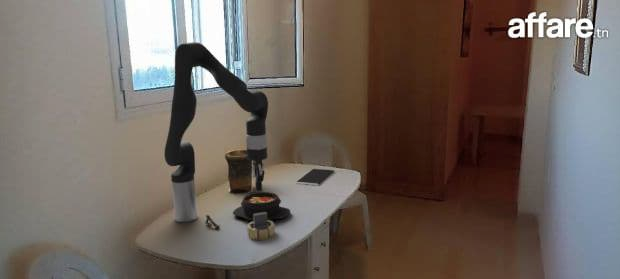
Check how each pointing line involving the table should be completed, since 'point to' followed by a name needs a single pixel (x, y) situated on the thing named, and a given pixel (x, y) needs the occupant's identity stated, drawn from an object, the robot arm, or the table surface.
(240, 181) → the vessel
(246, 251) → the table surface
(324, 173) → the smartphone
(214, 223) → the wooden post with brackets
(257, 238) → the octagonal wooden ring
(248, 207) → the casserole
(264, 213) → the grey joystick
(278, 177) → the table surface
